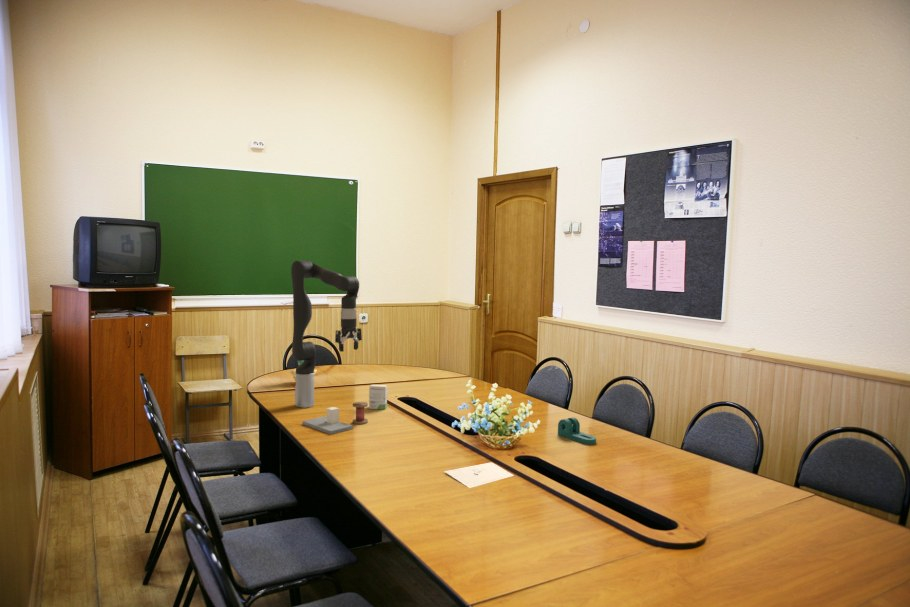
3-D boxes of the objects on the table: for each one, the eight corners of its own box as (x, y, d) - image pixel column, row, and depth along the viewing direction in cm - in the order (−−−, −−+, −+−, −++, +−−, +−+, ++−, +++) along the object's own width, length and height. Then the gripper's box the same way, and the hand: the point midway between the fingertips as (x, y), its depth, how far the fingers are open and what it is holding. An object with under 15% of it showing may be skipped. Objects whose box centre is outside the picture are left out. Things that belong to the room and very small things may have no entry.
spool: (349, 422, 282) (349, 403, 281) (361, 419, 287) (361, 400, 286) (358, 425, 277) (358, 406, 276) (370, 422, 282) (370, 403, 281)
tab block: (326, 425, 276) (326, 408, 276) (333, 423, 279) (333, 406, 279) (331, 427, 274) (331, 410, 273) (339, 425, 276) (339, 408, 276)
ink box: (368, 409, 306) (368, 386, 305) (371, 406, 311) (371, 384, 310) (385, 409, 305) (385, 387, 304) (387, 407, 310) (387, 384, 309)
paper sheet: (497, 463, 231) (497, 460, 231) (539, 493, 205) (539, 490, 205) (441, 471, 220) (442, 469, 220) (479, 504, 195) (479, 501, 194)
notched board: (302, 424, 277) (302, 421, 277) (324, 419, 286) (324, 416, 286) (331, 434, 262) (331, 431, 262) (352, 428, 271) (352, 425, 271)
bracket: (557, 435, 267) (558, 418, 267) (568, 432, 271) (568, 415, 271) (588, 446, 253) (589, 427, 252) (599, 443, 257) (600, 425, 256)
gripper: (355, 315, 298) (355, 348, 299) (331, 317, 287) (331, 351, 289) (365, 317, 293) (365, 349, 294) (341, 319, 282) (341, 353, 284)
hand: (348, 350), depth 292 cm, fingers open, 8 cm apart
